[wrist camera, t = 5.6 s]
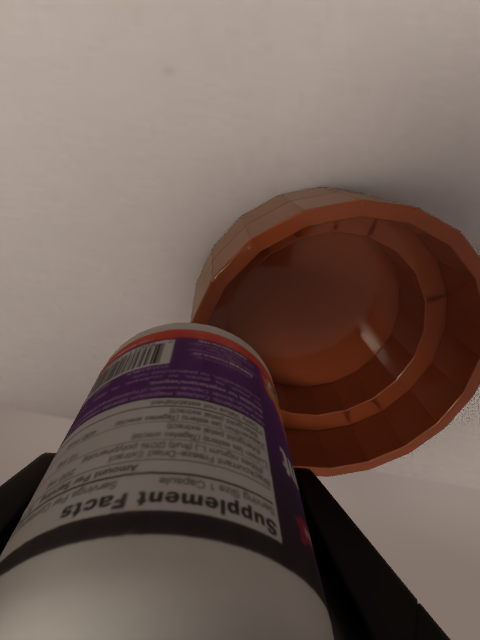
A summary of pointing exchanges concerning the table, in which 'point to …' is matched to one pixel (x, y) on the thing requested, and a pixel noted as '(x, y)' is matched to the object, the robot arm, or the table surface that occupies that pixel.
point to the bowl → (350, 321)
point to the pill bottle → (168, 507)
